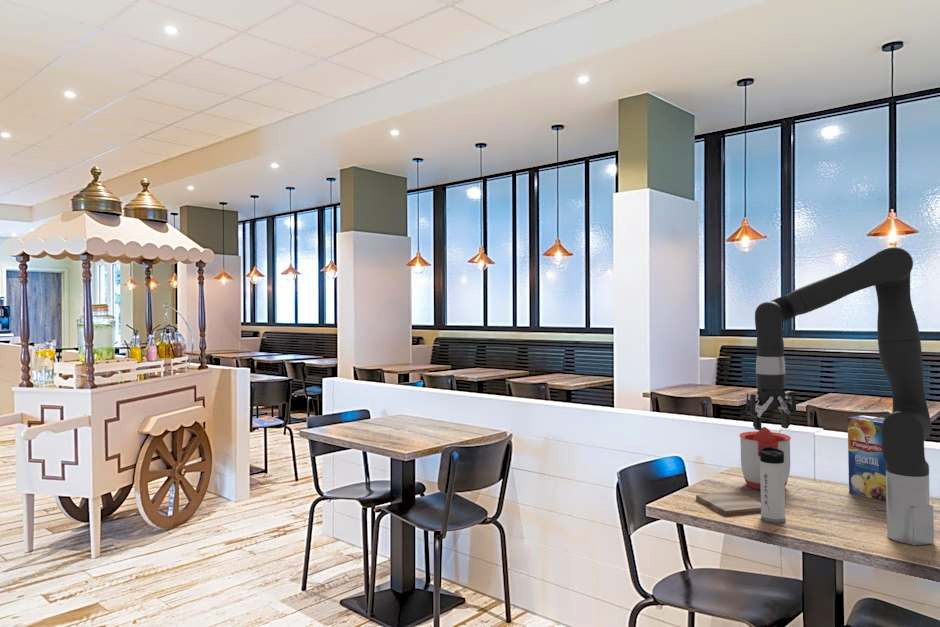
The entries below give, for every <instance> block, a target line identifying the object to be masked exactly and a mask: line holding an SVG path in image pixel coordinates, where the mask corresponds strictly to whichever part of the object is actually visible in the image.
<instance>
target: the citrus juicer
mask: <svg viewBox="0 0 940 627" xmlns="http://www.w3.org/2000/svg"><path fill="white" fill-rule="evenodd" d="M761 428H762V429H761V430H756V431H755V430H754V431H745V432H741V433H739V437H740V440H739V441H740V466H741V472H742V475H743V478H744V481H745V483H746V485H747V486H748V487H751V488H753V489H754V490H761V482H760V458H761V457H760V450H761V449H763V448H765V447H772V448H775V449H779V450H781V451H783V452H784V469H785V487H786V486H787V484H788V481H789V477H790V473H791V472H790V471H791V439H792V438H791V436H789V435H787V434H786V433H785V434H784V433H781V432H773V431H771V430H770V429H768V428H767V427H766V426H762V427H761Z"/></svg>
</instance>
